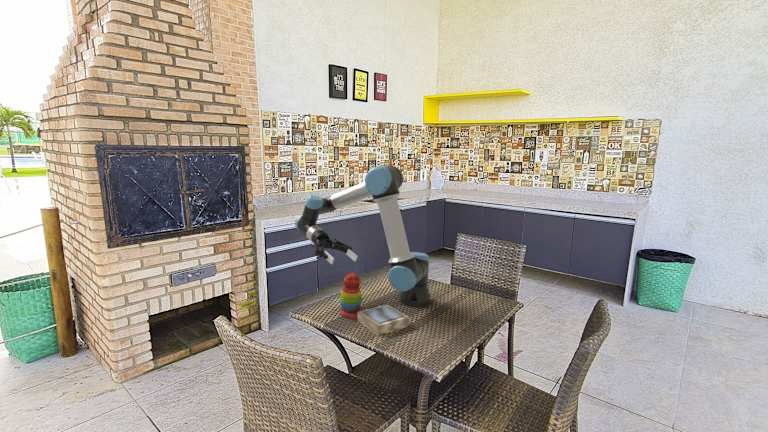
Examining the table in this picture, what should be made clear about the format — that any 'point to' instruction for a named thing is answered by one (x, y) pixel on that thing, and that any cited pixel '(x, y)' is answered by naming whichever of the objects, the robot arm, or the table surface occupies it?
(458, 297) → the table surface
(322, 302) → the table surface
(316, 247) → the robot arm
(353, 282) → the stacking bear
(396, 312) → the plinth
